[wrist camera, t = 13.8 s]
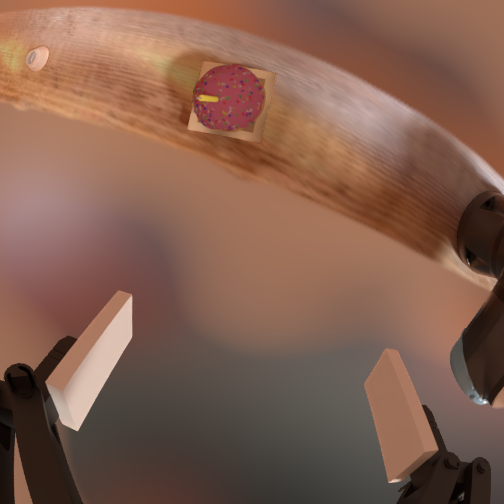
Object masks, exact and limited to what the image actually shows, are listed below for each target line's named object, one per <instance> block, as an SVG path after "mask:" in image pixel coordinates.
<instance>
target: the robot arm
mask: <svg viewBox="0 0 504 504" xmlns="http://www.w3.org/2000/svg"><path fill="white" fill-rule="evenodd" d="M457 246H458V252H459V255H460V258H461V260H462V261H463V263H464V264H465V265H466V266H467V267H469V268H470V269H471V270H472V271H474V272H475V273H478V274H481V275H485V276H489V277H493V278H496V279H498V282H497V283H496V285H495V287H494V288H493V290H492V291H491V293H490V295H489V296H488V298H487V299H486V301H485V302H484V304H483V305H482V307H481V308H480V310H479V311H478V313H477V314H476V315H475V317H474V318H473V319H472V321H471V322H470V324H469V325H468V326H467V328H465V329H464V330H463V332H462V334H461V337H460V338H459V339H458V341H457V342H456V343H455V345H454V346H453V348H452V350H451V354H450V365H451V369H452V372H453V374H454V377H455V379H456V381H457V383H458V385H459V386H460V388H461V389H462V391H463V392H464V393H465V394H466V395H469V397H470V399H471V400H472V401H473V402H475V403H476V404H479V405H483V404H485V403H488V402H489V403H490V405H491V406H492V407H493V408H504V195H502V194H499V193H497V192H492V191H490V192H485V193H482V194H480V195H479V196H477V197H476V198H475V199H474V200H473V201H472V202H471V203H470V204H469V205H468V207H467V208H466V210H465V212H464V214H463V216H462V218H461V221H460V224H459V229H458V235H457ZM131 338H132V294H128V293H125V292H122V291H118V292H117V293H116V294H115V295H114V296H113V297H112V299H111V300H110V301H109V302H108V303H107V305H106V306H105V307H104V308H103V309H102V310H101V312H100V313H99V314H98V315H97V316H96V318H95V319H94V320H93V321H92V322H91V324H90V325H89V326H88V327H87V329H86V330H85V331H84V332H83V333H82V335H81V336H80V337H79V338H78V339H76V338H73V337H70V336H67V337H65V338H63V339H61V340H59V341H58V343H57V344H56V345H55V346H54V347H53V350H51V351H50V352H49V353H48V356H46V357H45V358H44V359H43V361H42V362H41V363H40V364H39V366H38V367H37V368H36V369H35V371H33V369H32V368H31V367H30V366H28V365H26V364H21V363H17V364H14V365H11V366H10V367H9V368H7V370H6V371H5V374H4V380H5V381H1V380H0V504H15V500H14V445H15V432H16V438H17V443H18V448H19V453H20V458H21V462H22V467H23V471H24V475H25V478H26V482H27V485H28V489H29V492H30V496H31V499H32V502H33V504H83V502H82V500H81V497H80V495H79V492H78V490H77V487H76V485H75V482H74V480H73V477H72V474H71V471H70V469H69V466H68V463H67V460H66V457H65V453H64V450H63V447H62V444H61V441H60V437H59V433H58V430H57V426H56V424H55V422H56V420H57V419H58V417H60V420H61V422H62V424H64V425H66V426H68V427H70V428H72V429H74V430H76V431H78V430H79V428H80V426H81V424H82V422H83V420H84V419H85V417H86V415H87V413H88V411H89V410H90V408H91V406H92V404H93V402H94V400H95V399H96V397H97V395H98V393H99V392H100V390H101V388H102V386H103V385H104V383H105V381H106V380H107V378H108V376H109V375H110V373H111V371H112V369H113V368H114V366H115V364H116V363H117V361H118V359H119V358H120V356H121V354H122V353H123V351H124V349H125V348H126V346H127V344H128V343H129V341H130V340H131ZM364 386H365V389H366V393H367V396H368V400H369V404H370V407H371V411H372V415H373V419H374V422H375V426H376V430H377V434H378V438H379V442H380V447H381V451H382V455H383V459H384V463H385V468H386V473H387V477H388V482H389V483H391V482H399V481H403V480H404V479H405V478H407V477H408V476H409V475H410V477H411V481H409V482H408V483H407V484H406V485H404V486H403V487H401V488H400V489H399V490H398V492H400V491H402V490H403V489H404V491H403V493H402V494H401V496H400V498H399V500H398V501H397V503H396V504H490V494H491V468H490V465H489V463H488V461H487V460H486V459H484V458H482V457H478V458H476V459H474V460H473V461H472V462H471V463H467V462H461V461H460V460H459V458H458V457H457V456H456V455H455V454H454V453H451V452H448V451H447V449H446V447H445V444H444V441H443V439H442V436H441V434H440V431H439V429H438V426H437V424H436V422H435V419H434V416H433V414H432V412H431V411H430V409H429V408H428V407H427V406H426V405H421V403H420V401H419V398H418V396H417V393H416V391H415V389H414V386H413V384H412V382H411V379H410V377H409V375H408V372H407V370H406V368H405V366H404V364H403V362H402V359H401V357H400V355H399V353H398V351H397V350H394V349H385V350H384V352H383V354H382V356H381V357H380V359H379V361H378V362H377V364H376V366H375V367H374V369H373V371H372V372H371V374H370V375H369V377H368V379H367V380H366V382H365V384H364ZM463 495H464V500H462V496H463Z"/></svg>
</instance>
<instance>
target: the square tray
mask: <svg viewBox="0 0 504 504" xmlns="http://www.w3.org/2000/svg"><path fill="white" fill-rule="evenodd" d="M222 65H223V64H222V63H215V62H207V61H203V63H202V67H201V71H200V75H199V79H198V81H199V80H200V79H201V78H202V77H203V76H204V75H205V74H206V73H207V72H208V71H209V70H210V69H212V68H213V67H217V66H222ZM226 65H228V64H226ZM245 68H247V67H245ZM247 69H249V70H250V71H251V72H252V73H253V74H255V75H256V76H257V77H258V78H259V79H260V81H261V82H262V84H263V86H264V89H265V92H266V100H265V106H264V110H263V111H262V113H261V114H260V116H259V117H258V118H257V120H256V121H255V122H254V123H253V124H252V125H250V126H248V127H246V128H244V129H242V130H240V131H237V132H223V131H218V130H215V129H209V128H207V127H205V126H204V125H203V124H201V122H200V121H199V119H198V118H197V116H196V113H194V112H195V111H194V106H193V105H192V110H191V115H190V119H189V124H188V129H187V130H193V131H199V132H205V133H211V134H216V135H222V136H227V137H232V138H237V139H242V140H246V141H251V142H256V143H261V139H262V135H263V131H264V126H265V122H266V118H267V114H268V110H269V105H270V101H271V97H272V93H273V89H274V85H275V81H276V76H277V73H273V72H268V71H263V70H258V69H253V68H247Z"/></svg>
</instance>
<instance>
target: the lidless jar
mask: <svg viewBox="0 0 504 504" xmlns="http://www.w3.org/2000/svg"><path fill="white" fill-rule="evenodd" d="M48 56H49V51H48V49H47V48H46V47H45V46H41V47H38V48H36V49H34V50H31V51H30V52H29V53H28V55H27V57H26V64H27V65H28V67H29V68H30V69H31V70H32V71H34V72H35V71H39V70H41V69H42V68H43V67H44V66H45V64H46V62H47V60H48Z"/></svg>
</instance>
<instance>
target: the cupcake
mask: <svg viewBox="0 0 504 504" xmlns="http://www.w3.org/2000/svg"><path fill="white" fill-rule="evenodd" d="M265 100H266V92H265V89H264V86H263V84H262V82H261V81H260V79H259V78H258V77H257V76H256V75H255V74H253V73H252V72H251V71H250V70H249V69H247V68H245V67H244V66H241V65H238V64H228V65H226V64H223V65H222V66H217V67H213V68H212V69H210V70H209V71H208V72H207V73H206V74H205V75H204V76H203V77H202V78H201V79H200V80H199V81H198V82H197V84H196V86H195V89H194V91H193V100H192V102H193V106H194V111H195V112H194V113H196V116H197V118H198V119H199V121H200V122H201V124H203V125H204V126H205V127H207V128H209V129H215V130H218V131H223V132H237V131H240V130H242V129H244V128H246V127H248V126H250V125H252V124H253V123H254V122H255V121H256V120H257V118H258V117H259V116H260V114H261V113H262V111H263V110H264V106H265Z"/></svg>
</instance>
